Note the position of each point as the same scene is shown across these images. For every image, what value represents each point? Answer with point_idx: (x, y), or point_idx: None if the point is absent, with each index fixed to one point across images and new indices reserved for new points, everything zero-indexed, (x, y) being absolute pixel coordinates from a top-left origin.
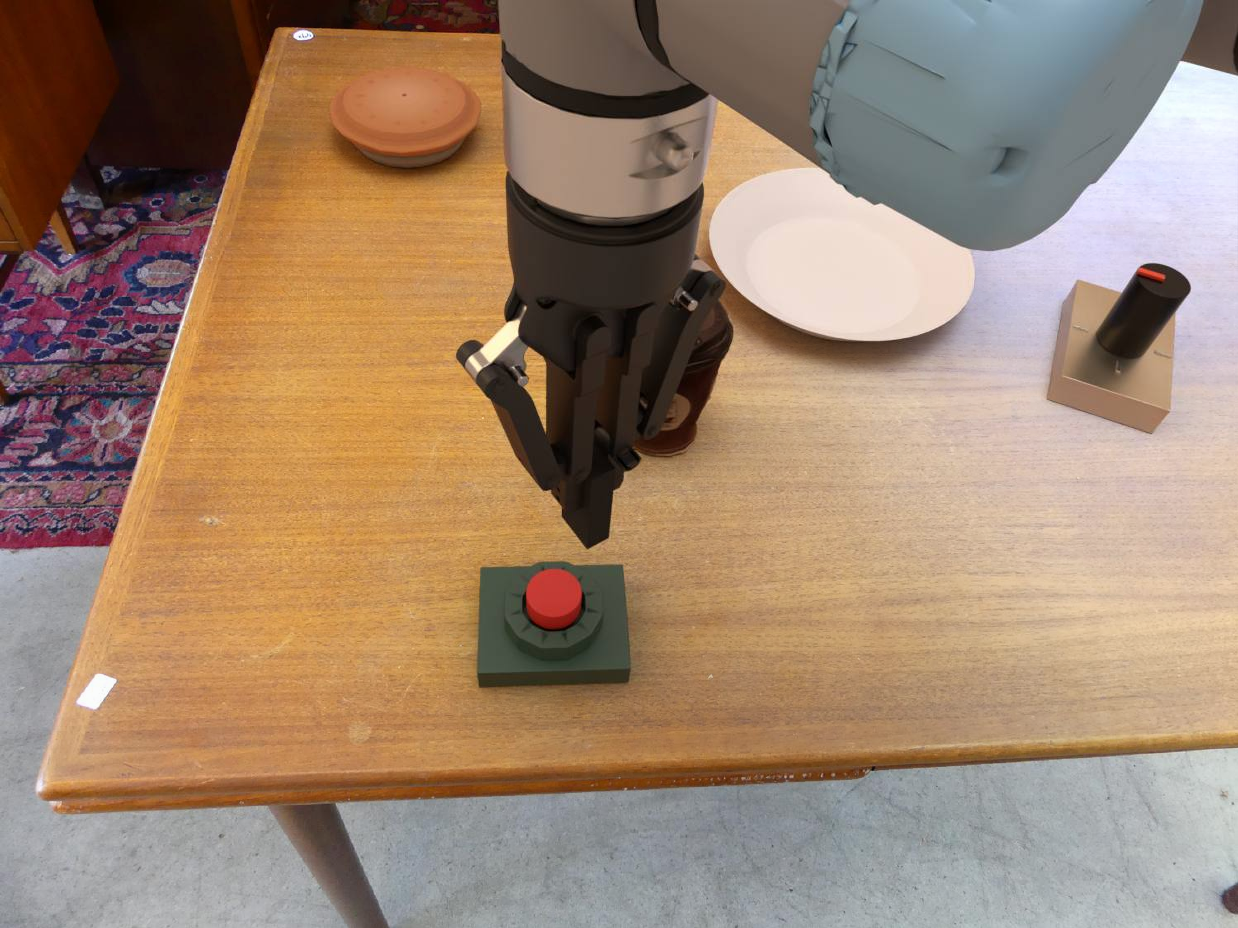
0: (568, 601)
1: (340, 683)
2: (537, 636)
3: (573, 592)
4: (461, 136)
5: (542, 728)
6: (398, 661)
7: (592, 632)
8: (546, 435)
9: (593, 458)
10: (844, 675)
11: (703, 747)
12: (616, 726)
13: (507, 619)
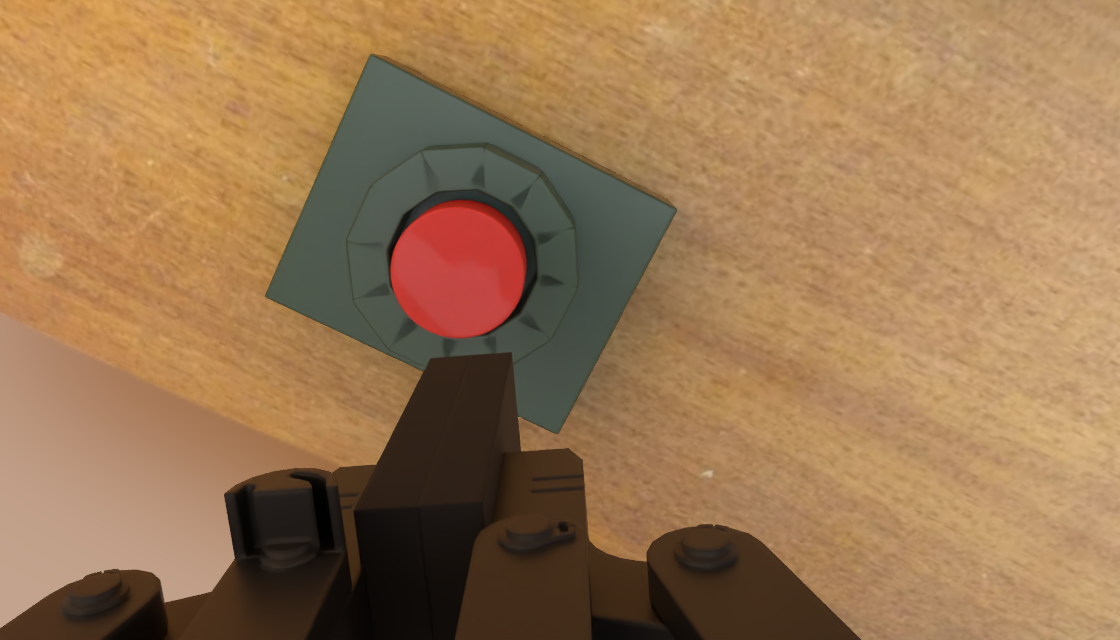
0: (476, 311)
1: (27, 139)
2: (392, 321)
3: (498, 296)
4: None
5: (365, 412)
6: (152, 149)
7: None
8: (202, 611)
9: (440, 632)
10: (935, 588)
11: None
12: None
13: (348, 251)
